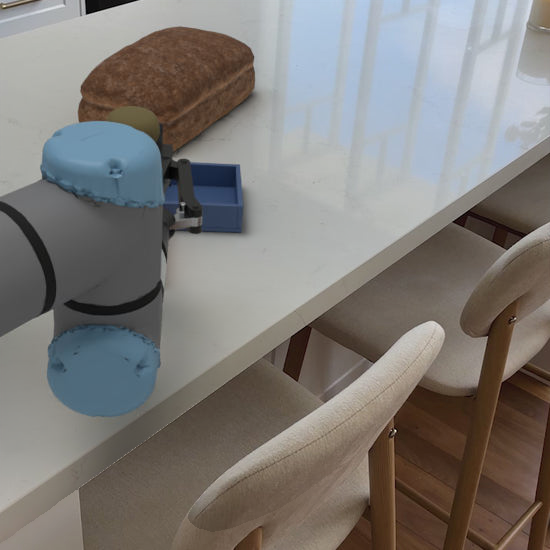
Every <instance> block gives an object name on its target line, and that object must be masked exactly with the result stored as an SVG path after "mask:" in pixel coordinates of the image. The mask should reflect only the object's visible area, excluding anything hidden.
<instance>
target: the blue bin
mask: <svg viewBox="0 0 550 550" xmlns="http://www.w3.org/2000/svg"><path fill="white" fill-rule="evenodd" d="M190 165H191V173H192V181H193V189H194V197H195V198H196V199H197V201H198V202H199V203H200V204H201V205H202V207H203V212H202V231H201V232H220V233H242V227H243V215H244V214H243V212H244V201H243V185H242V172H241V164H239V163H219V162H218V163H216V162H193V161H190ZM163 207H164V208H166V209H167V210H168V211H170V212H171V213H172V214H173V215H175V214H176V209H177V208H179V200H178V190H177V181H176V180H171V187H170V186H168V188H167V191H166V193H165V203H164V204H163ZM177 231H188V230H187V229H186V228H183V229H178V230H177Z"/></svg>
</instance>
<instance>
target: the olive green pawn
mask: <svg viewBox="0 0 550 550" xmlns="http://www.w3.org/2000/svg"><path fill="white" fill-rule="evenodd" d="M106 121H108V122H115V123H121V124H125V125H128V126H131V127H133V128H134V129H136V130H139V131H142V132H144V133H146V134H147V135H148V136H150V137H151V138H152V139H153V140H154V142H155V143H156V142H157V140H158V137H159V134H160V126H159V122H158V119H157V117H156V115H155V114H154V113H153V112H152V111H150V110H148V109H146V108H142V107H137V106H126V107H121V108H118V109H115V110H113V111H112V112H111V113H110V114H109V116H108V117H107V119H106Z"/></svg>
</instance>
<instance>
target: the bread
mask: <svg viewBox="0 0 550 550" xmlns="http://www.w3.org/2000/svg"><path fill="white" fill-rule="evenodd" d="M254 63H255V55H254V53H253V51H252V48H251V47H250V46H248V44H246V43H244V42H242V41H241V40H239V39H236V38H235V37H232V36H230V35H228V34H225V33H221V32H217V31H213V30H212V31H211V30H205V29H201V28H195V27H189V26H180V25H179V26H172V27H167V28H163V29H159V30H155V31H153V32H151V33H149V34H147V35H145V36H143V37H141V38H140V39H138V40H136V41H135V42H132V43H131V44H127V45H125V46H123V47H122V48H121V49H119V50H117V51H116V52H114V53H113V54H111V55H110V56H108V57H107V58H105V59H104V60H103V61H101V62H100V63H98V64H97V65H96V66H95V67H94V68H93V69H92V70H91V71H90V73H89V74H88V75H87V77H86V78H85V79H84V80H83V81H82V83H81V85H80V89H79V91H80V95H81V99H80V101H79V103H78V108H77V119H78V123H81V122H89V121H106V119H107V117H108V116H109V114H110V113H111V112H112V111H113V110H115V109H118V108H121V107H126V106H137V107H142V108H146V109H148V110H150V111H152V112H153V113H154V114H155V115H156V117H157V119H158V122H159V124H163V144H169V145H172V147H173V152H175V151H176V150H178V149H179V148H180V147H182V146H183V145H186V144H187V143H188V142H190V141H191V140H193V139H194V138H196V137H197V136H198V135H200V134H201V133H202V132H203V131H205V130H206V129H208V128H209V127H210V126H211V125H213V124H214V123H215V122H216V121H217V120H219V119H221V118H222V117H224V116H226V115H227V114H229V113H230V112H231V111H232V110H234V109H235V108H236V107H237V106H238V105H240V104H241V103H243V102H244V101H245V100H246V99H247V98H248V97H249V95H251V93H252V92H253V91H254V90H255V89H256V88H255V87H256V71H255V65H254Z"/></svg>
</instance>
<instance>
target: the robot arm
mask: <svg viewBox="0 0 550 550" xmlns="http://www.w3.org/2000/svg"><path fill="white" fill-rule="evenodd" d="M159 126H160V134H159V137H158V140H157V142H156V143H155V142H154V140H153V139H152V138H151V137H150V136H148V135H147V134H146V133H144V132H142V131H139V130H136V129H134V128H133V127H131V126H128V125H125V124H121V123H115V122H108V121H89V122H81V123H79V122H77V123H72V124H69V125H66V126H63V127H61V128H59V129H57V130H56V131H54V132H53V134H52V136H51V137H49V138H47V140H46V141H45V143H44V144H43V147H42V154H41V163H40V165H39V169H40V172H41V179H39V180H37V181H35V182H33V183H30V184H28V185H26V186H25V185H24V186H23V187H21V188H18V189H15V190H13V191H11V192H8V193H6V194H3V195H2V196H0V338H2V337H4V336H6V335H7V334H9V333H10V332H12V331H15V330H16V329H17V328H19V327H21V326H23V325H25V324H27V323H28V322H30V321H31V320H33V319H36V318H39V317H40V316H42V315H44V314H46V313H48V312H50V311H52V313H53V337H52V339H51V342H50V344H48V346H47V356H48V362H47V368H46V379H47V383H48V386H49V388H50V390H51V392H52V394H53V395H54V396H55V398H56V399H57V400H58V401H59V402H60V403H61V404H62V405H63V406H65V407H66V408H68V409H69V410H72V411H73V412H76V413H78V414H79V415H84V416H88V417H93V418H96V417H100V418H106V417H107V418H114V417H119V416H124V415H127V414H129V413H131V412H133V411H135V410H137V409H139V408H140V407H141V406H143V404H145V403H146V401H148V399H149V398H150V397H151V395H152V393H153V392H154V390H155V386H156V382H157V376H158V370H159V369H160V368H161V364H162V362H161V338H162V325H163V324H162V322H163V303H164V297H165V296H164V295H165V289H166V277H167V267H168V266H167V264H168V263H167V262H168V254H169V242H170V239H172V238H173V237H174V236H175V234H176V231H179V230H178V229H183V228H186V229H187V230H186V231H187V232H189V233H190V234H192V235H198V234H200V233H202V232H203V231H202V212H203V207H202V205H201V204H200V203H199V202H198V201H197V199H196V198H195V197H194V189H193V181H192V173H191V165H190V162H191V161H190V160H189V159H188V158H179V159H178V160H174V159H173V158H174V157H173V155H174V151H173V147H172V145H169V144H163V124H159ZM171 180H176V181H177V190H178V200H179V208H177V209H176V214H175V215H173V214H172V213H171V212H170V211H168V210H167V209H166V208H164V207H163V204H164V203H165V193H166V191H167V188H168V186H170V187H171Z"/></svg>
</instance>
